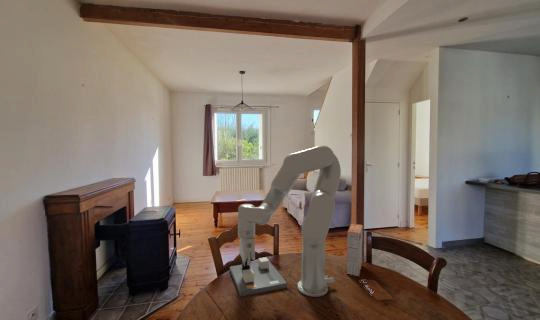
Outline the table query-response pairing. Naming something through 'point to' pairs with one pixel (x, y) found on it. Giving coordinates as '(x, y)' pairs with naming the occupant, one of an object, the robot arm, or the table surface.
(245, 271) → the tab
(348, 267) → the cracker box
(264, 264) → the tab
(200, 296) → the table surface
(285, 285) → the switch panel
